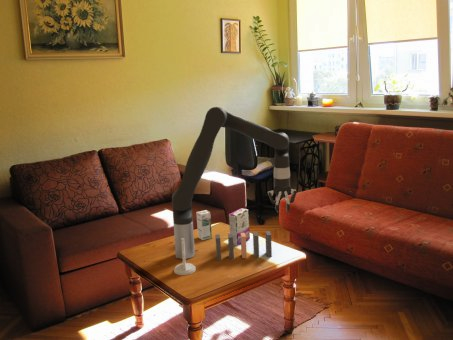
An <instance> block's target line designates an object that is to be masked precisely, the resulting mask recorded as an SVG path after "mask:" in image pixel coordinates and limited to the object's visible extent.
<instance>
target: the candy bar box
mask: <svg viewBox="0 0 453 340" xmlns="http://www.w3.org/2000/svg"><path fill="white" fill-rule="evenodd" d="M228 220H229V221H228V223H229V234H232V235H233V246H237V247H238V245H239V246H241V233H245V235H246V242H247V241H249V240H250V239H251V234H250V232H251V231H250V217H249V209H247V208H241V207H240V208H239V209H237V210H235V211H233V212H231V213H229V214H228Z"/></svg>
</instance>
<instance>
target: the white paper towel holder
mask: <svg viewBox="0 0 453 340" xmlns="http://www.w3.org/2000/svg"><path fill="white" fill-rule="evenodd" d="M181 241H182V258H183V259H182V263H179V264H177V265H176V266H175V267H174V269H173V272H174V274H175V275H177V276H188V275H192V274H194V273H195V272H196V269H197V267H196V266H195V265H194V264H193V263H190V262H186V260H187V259H185V244H184V238H181Z"/></svg>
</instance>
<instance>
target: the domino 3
mask: <svg viewBox="0 0 453 340" xmlns="http://www.w3.org/2000/svg"><path fill="white" fill-rule="evenodd" d="M240 248H241V249H240V250H241V251H240V252H241V254H242V255H241V259H242V258H245V259H247V258H248V257H247V256H248V255H247V241H246V235H245V233H241V244H240Z"/></svg>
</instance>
